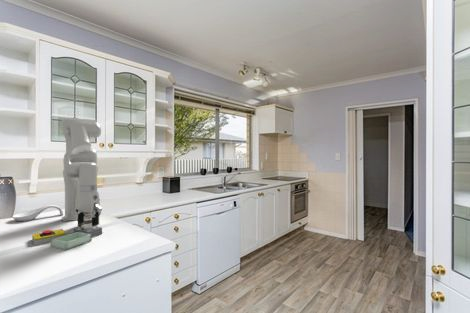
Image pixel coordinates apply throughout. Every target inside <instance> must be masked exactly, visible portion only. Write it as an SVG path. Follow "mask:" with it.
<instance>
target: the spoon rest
mask: <svg viewBox="0 0 470 313" xmlns="http://www.w3.org/2000/svg"><path fill="white" fill-rule="evenodd" d="M50 208H52V209H53V208H54V209H57V210H58V211H59V215H60V216H64V211H63V210H62V208H61V207H60V206H58V205H55V204H47V205H44V206H41V207H38V208H36V209H32V210H29V211H24V212H19V213H15V214H13V215H12V217H11V218H12V219H14V220H15V221H17V222H30V221H32V220H34V219H36V218H37V217H38V216H39V215H40V214H41V213H42V212H43V211H45V210H47V209H50Z"/></svg>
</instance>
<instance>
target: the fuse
mask: <svg viewBox="0 0 470 313" xmlns="http://www.w3.org/2000/svg"><path fill="white" fill-rule="evenodd" d="M92 217H93V216H92V215H86V216H84V230H86V231H87V230H90V229H92V227H93V226H92Z"/></svg>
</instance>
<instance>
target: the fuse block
mask: <svg viewBox="0 0 470 313" xmlns="http://www.w3.org/2000/svg"><path fill="white" fill-rule="evenodd" d="M76 232H81V233H86V234H91V238H94V237H96V236H100V235H102V234H103V227H101V226H93V227H92V229H90V230H87V231H86V230H84V225H82V226H81V227H80V228H78V227H77V228H74V229H73V233H76Z"/></svg>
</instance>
